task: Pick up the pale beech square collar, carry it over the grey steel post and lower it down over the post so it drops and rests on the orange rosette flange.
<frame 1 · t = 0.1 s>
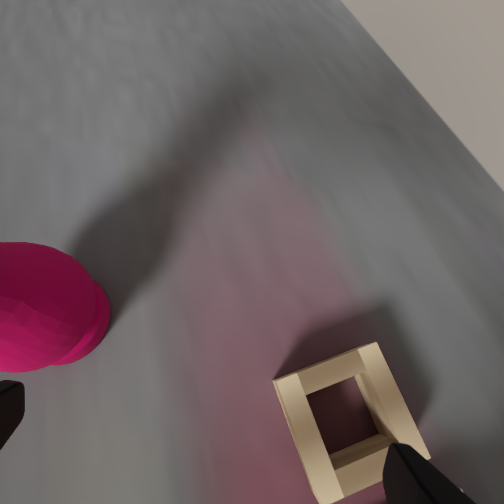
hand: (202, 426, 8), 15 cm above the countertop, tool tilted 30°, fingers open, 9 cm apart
collar: (337, 412, 22), on the countertop
pepper mill: (67, 319, 24), on the countertop
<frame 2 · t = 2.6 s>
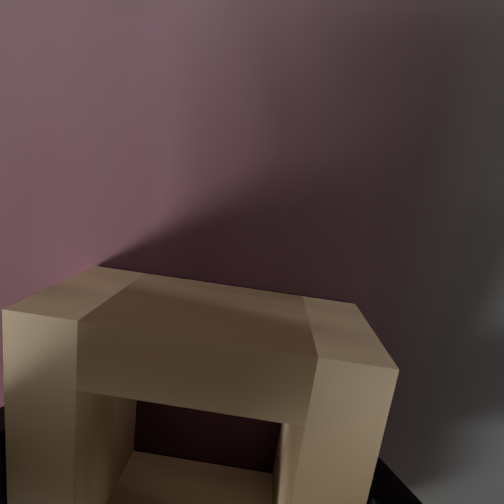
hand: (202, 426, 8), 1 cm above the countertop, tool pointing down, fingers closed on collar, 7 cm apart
collar: (209, 400, 9), on the countertop, touching gripper
when the fingers open (6 cm above the countertop, at t = 7.2 s): collar stays where it is, resting on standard.
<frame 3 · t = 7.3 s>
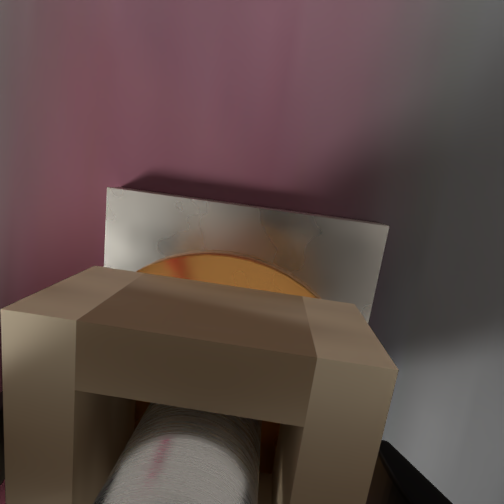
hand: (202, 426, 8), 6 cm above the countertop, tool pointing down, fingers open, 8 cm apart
collar: (209, 400, 9), point 5 cm above the countertop, touching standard
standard: (232, 326, 14), on the countertop
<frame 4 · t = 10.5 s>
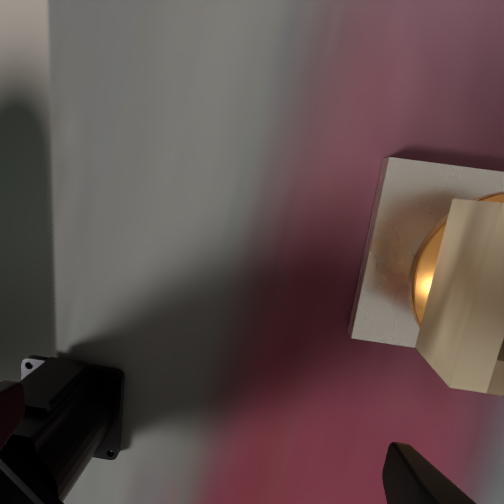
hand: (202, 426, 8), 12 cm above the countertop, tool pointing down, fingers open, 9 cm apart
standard: (453, 261, 19), on the countertop
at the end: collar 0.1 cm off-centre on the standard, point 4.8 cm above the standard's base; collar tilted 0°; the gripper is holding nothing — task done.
